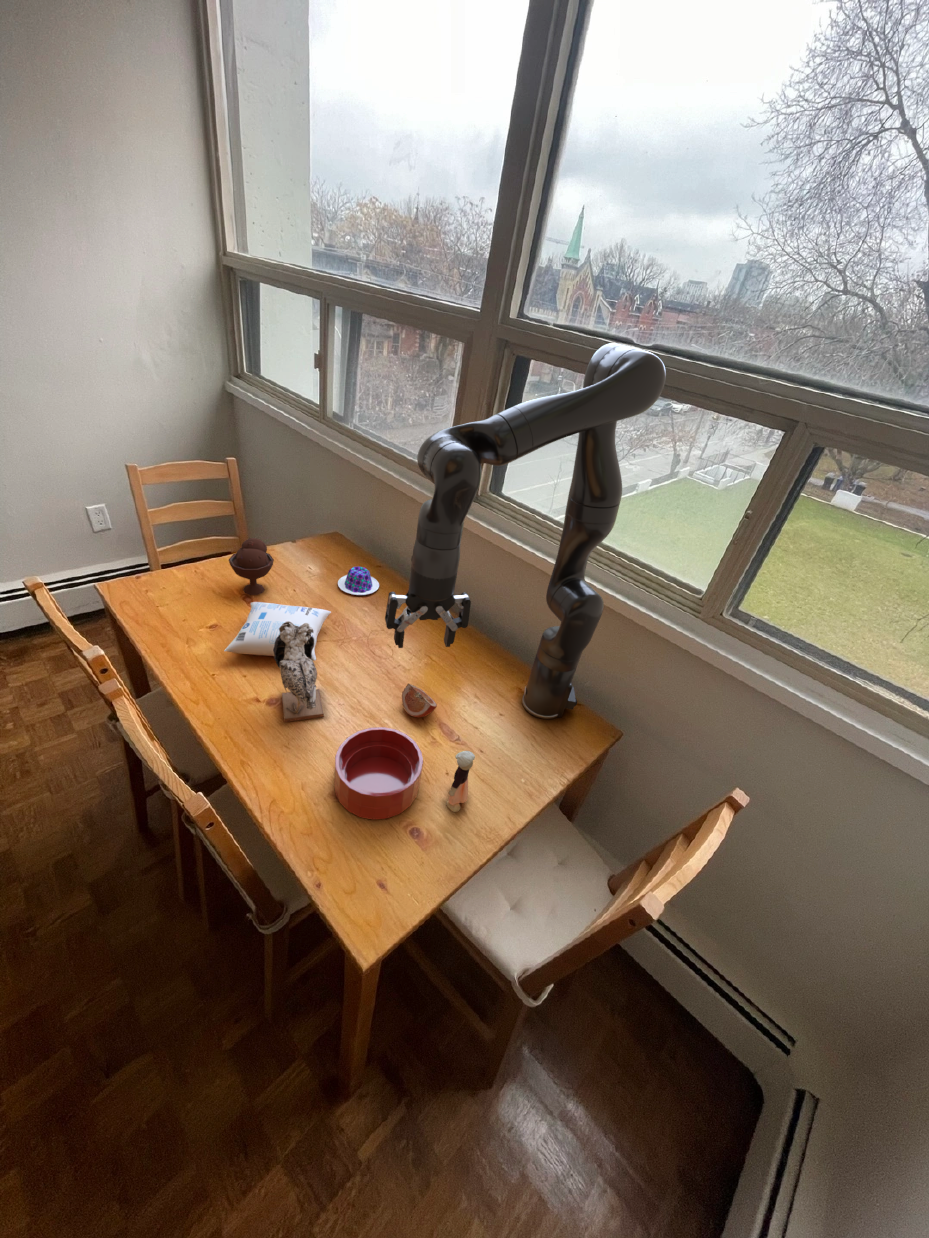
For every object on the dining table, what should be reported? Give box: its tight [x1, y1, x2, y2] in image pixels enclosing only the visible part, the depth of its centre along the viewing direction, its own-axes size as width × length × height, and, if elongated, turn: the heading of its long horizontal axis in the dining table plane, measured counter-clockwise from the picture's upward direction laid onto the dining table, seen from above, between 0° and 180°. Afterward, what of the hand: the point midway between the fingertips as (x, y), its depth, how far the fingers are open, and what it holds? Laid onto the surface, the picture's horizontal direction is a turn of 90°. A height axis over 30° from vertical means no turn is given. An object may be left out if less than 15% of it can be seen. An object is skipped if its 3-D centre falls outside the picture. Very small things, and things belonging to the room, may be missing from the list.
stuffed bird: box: [273, 621, 325, 723], centre depth 103 cm, size 10×20×17 cm, turn 39°
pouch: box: [223, 601, 332, 661], centre depth 121 cm, size 8×19×20 cm
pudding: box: [337, 566, 380, 596], centre depth 148 cm, size 12×12×5 cm
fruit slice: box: [401, 683, 438, 718], centre depth 110 cm, size 8×7×5 cm
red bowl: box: [334, 726, 424, 821], centre depth 92 cm, size 15×15×7 cm
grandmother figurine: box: [445, 750, 476, 813], centre depth 91 cm, size 8×4×13 cm, turn 168°
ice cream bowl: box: [228, 537, 275, 596], centre depth 136 cm, size 11×11×15 cm
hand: (423, 644), depth 91 cm, fingers open, 8 cm apart
